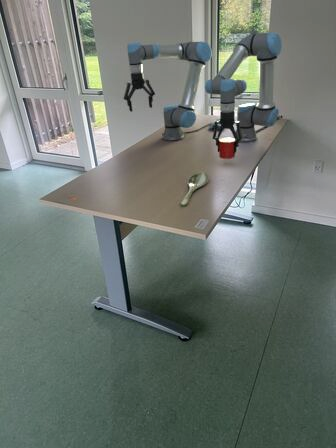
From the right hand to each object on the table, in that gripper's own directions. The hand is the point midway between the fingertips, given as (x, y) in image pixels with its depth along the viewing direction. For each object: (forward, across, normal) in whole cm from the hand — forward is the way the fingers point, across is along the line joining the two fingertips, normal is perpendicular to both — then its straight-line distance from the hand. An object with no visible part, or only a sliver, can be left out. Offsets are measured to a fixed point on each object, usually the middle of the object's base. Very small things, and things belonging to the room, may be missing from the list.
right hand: (227, 151), depth 189 cm
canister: (+3, 0, 0) cm, 3 cm away
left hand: (-20, -58, +10) cm, 62 cm away
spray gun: (+10, -26, +79) cm, 84 cm away
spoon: (+9, -8, -35) cm, 37 cm away
